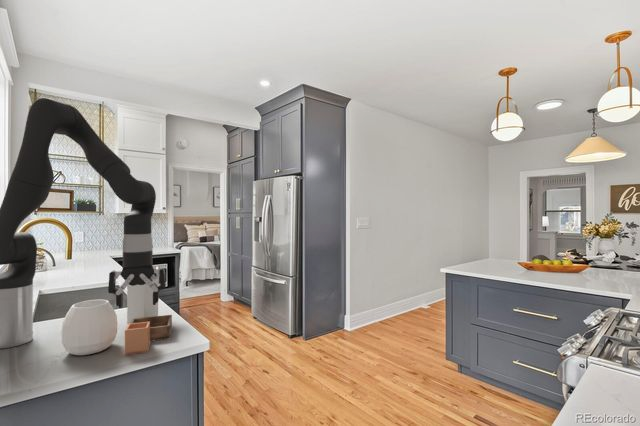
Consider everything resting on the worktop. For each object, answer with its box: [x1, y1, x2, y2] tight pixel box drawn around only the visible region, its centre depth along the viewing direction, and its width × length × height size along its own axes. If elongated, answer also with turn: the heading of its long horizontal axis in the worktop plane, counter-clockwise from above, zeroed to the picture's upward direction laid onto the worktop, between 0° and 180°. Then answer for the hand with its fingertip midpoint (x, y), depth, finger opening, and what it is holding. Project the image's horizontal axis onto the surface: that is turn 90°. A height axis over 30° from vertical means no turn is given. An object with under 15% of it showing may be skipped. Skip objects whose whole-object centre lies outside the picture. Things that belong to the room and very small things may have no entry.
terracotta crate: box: [124, 322, 151, 356], centre depth 94 cm, size 6×6×7 cm
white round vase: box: [61, 299, 118, 356], centre depth 94 cm, size 13×13×14 cm
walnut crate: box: [130, 314, 173, 342], centre depth 106 cm, size 12×12×4 cm
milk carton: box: [126, 273, 159, 325], centre depth 119 cm, size 7×7×19 cm
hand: (138, 305), depth 94 cm, fingers open, 8 cm apart
